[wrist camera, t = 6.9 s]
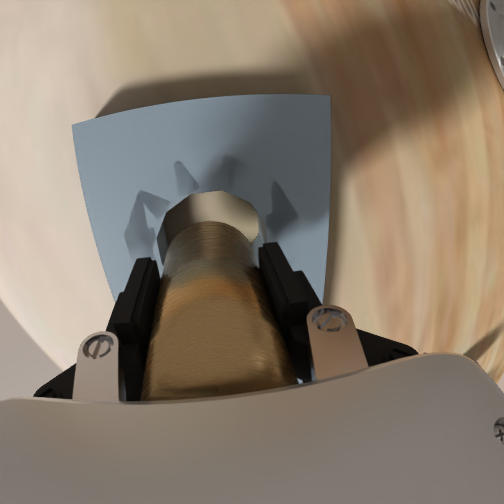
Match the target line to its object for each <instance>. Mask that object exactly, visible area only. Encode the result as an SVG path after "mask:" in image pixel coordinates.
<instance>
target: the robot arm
mask: <svg viewBox="0 0 504 504" xmlns="http://www.w3.org/2000/svg"><path fill="white" fill-rule="evenodd" d="M480 22H481V27H482V33H483V37H484V41H485V45H486V48H487V51H488V54H489V58H490V60H491V63H492V66H493V68H494V71H495V73H496V76H497V78H498V80H499V82H500V84H501V86H502V88H503V90H504V0H481V1H480ZM258 257H259V269H260V272H261V275H262V278H263V281H264V284H265V287H266V290H267V293H268V295H269V298H270V301H271V304H272V307H273V310H274V313H275V316H276V319H277V322H278V324H279V327H280V330H281V333H282V336H283V339H284V342H285V345H286V347H287V350H288V353H289V356H290V359H291V362H292V365H293V368H294V371H295V374H296V376H297V378H298V379H300V380H301V384H296V385H291V386H285V387H280V388H274V389H268V390H262V391H255V392H249V393H242V394H234V395H226V396H217V397H207V398H196V399H182V400H163V401H141V395H142V387H143V379H144V372H145V365H146V358H147V351H148V345H149V339H150V333H151V327H152V322H153V316H154V311H155V306H156V301H157V296H158V291H159V286H160V281H161V277H160V273H159V269H158V265H157V262H156V260H152V259H151V257H145V258H137V259H136V261H135V264H134V266H133V269H132V271H131V274H130V276H129V279H128V282H127V284H126V287H125V290H124V292H120V293H119V295H118V298H117V301H116V303H115V306H114V309H113V311H112V314H111V317H110V320H109V323H108V326H107V328H106V331H101V332H97V333H93V334H91V335H90V336H88V337H87V338H86V339H84V340H83V342H82V343H81V344H80V347H79V350H78V357H77V363H76V364H74V365H73V366H71V367H70V368H68V369H67V370H65V371H64V372H62V373H61V374H59V375H58V376H56V377H55V378H53V379H52V380H50V381H49V382H48V383H46V384H45V385H43V386H42V387H40V388H39V389H38V390H37V391H36V393H35V394H34V396H33V397H17V398H9V399H5V400H2V401H0V504H504V393H503V392H502V391H501V389H500V388H499V387H498V385H497V384H496V383H495V382H494V381H493V379H492V378H491V377H490V376H489V375H488V374H487V373H486V372H485V371H484V370H483V369H482V368H481V366H480V365H479V364H478V362H476V361H474V360H473V359H470V358H468V357H467V356H464V355H461V354H456V353H448V352H445V353H423V354H418V352H417V351H416V350H415V349H413V348H412V347H410V346H408V345H405V344H402V343H399V342H396V341H393V340H390V339H387V338H384V337H380V336H377V335H374V334H371V333H368V332H365V331H362V330H359V329H356V328H355V325H354V322H353V319H352V317H351V315H350V314H349V313H348V312H347V311H346V310H345V309H343V308H341V307H338V306H333V305H322V303H321V302H320V300H319V298H318V296H317V295H316V293H315V291H314V289H313V288H312V286H311V284H310V283H309V281H308V279H307V277H306V276H305V274H304V272H303V271H302V270H299V271H293V270H292V268H291V266H290V264H289V262H288V260H287V259H286V257H285V255H284V253H283V251H282V249H281V247H280V246H279V244H278V242H269V243H263V247H258Z"/></svg>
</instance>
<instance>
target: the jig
mask: <svg viewBox="0 0 504 504" xmlns="http://www.w3.org/2000/svg"><path fill="white" fill-rule="evenodd" d="M72 131H73V139H74V146H75V152H76V158H77V164H78V170H79V175H80V180H81V185H82V190H83V195H84V199H85V204H86V208H87V212H88V216H89V220H90V224H91V228H92V232H93V235H94V239H95V242H96V246H97V249H98V253H99V256H100V259H101V262H102V266H103V269H104V272H105V275H106V278H107V281H108V284H109V286H110V289H111V292H112V295H113V298H114V300H115V303H116V301H117V298H118V295H119V293H120V292H124V290H125V287H126V284H127V282H128V279H129V276H130V274H131V271H132V269H133V266H134V264H135V261H136V259H137V258H145V257H151V259H152V260H156V262H157V265H158V269H159V273H160V277H161V276H162V272H163V267H164V263H165V259H166V254H167V251H168V248H169V244H168V243H167V239H166V234H165V228H164V223H163V219H164V217H165V214H166V212H167V211H169V210H170V209H171V208H173V207H174V206H175V205H177V204H178V203H179V202H180V201H182V200H183V199H185V198H186V197H187V196H189V195H190V194H196V193H204V192H212V191H221V190H222V191H224V192H227V193H229V194H231V195H234V196H236V197H238V198H241V199H243V200H245V201H248V202H250V203H251V205H252V206H253V208H254V209H255V210H256V212H257V213H258V223H259V233H258V235H257V237H256V239H255V241H254V243H253V244H252V246H251V247H252V249H253V252H254V255H255V258H256V261H257V264H258V267H259V257H258V247H263V243H269V242H278V244H279V246H280V247H281V249H282V251H283V253H284V255H285V257H286V259H287V260H288V262H289V264H290V266H291V268H292V270H293V271H299V270H302V271H303V272H304V274H305V276H306V277H307V279H308V281H309V283H310V284H311V286H312V288H313V289H314V291H315V293H316V295H317V296H318V298H319V300H320V302H321V303H323V294H324V284H325V272H326V260H327V247H328V231H329V213H330V186H331V103H330V95H314V94H255V95H235V96H222V97H211V98H201V99H193V100H185V101H178V102H171V103H164V104H158V105H153V106H147V107H142V108H137V109H132V110H127V111H123V112H118V113H114V114H110V115H106V116H102V117H98V118H94V119H90V120H87V121H83V122H80V123H77V124H73V125H72ZM297 379H298V378H297ZM298 382H299V384H301V380H300V379H298Z"/></svg>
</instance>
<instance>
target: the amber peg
mask: <svg viewBox="0 0 504 504" xmlns="http://www.w3.org/2000/svg"><path fill="white" fill-rule="evenodd" d="M296 384H299V382H298V379H297V376H296V374H295V371H294V368H293V365H292V362H291V359H290V356H289V353H288V350H287V347H286V345H285V342H284V339H283V336H282V333H281V330H280V327H279V324H278V322H277V319H276V316H275V313H274V310H273V307H272V304H271V301H270V298H269V295H268V293H267V290H266V287H265V284H264V281H263V278H262V275H261V272H260V269H259V267H258V264H257V261H256V258H255V255H254V252H253V249H252V247H251V244H250V242H249V241H248V239H247V238H246V237H245V236H244V235H243V234H242V233H241V232H240V231H239V230H237V229H236V228H234V227H232V226H230V225H228V224H225V223H221V222H215V221H206V222H199V223H196V224H193V225H191V226H188V227H186V228H185V229H183V230H182V231H181V232H179V233H178V234H177V235H176V236H175V238H174V239H173V240H172V242H171V243H170V245H169V248H168V251H167V254H166V259H165V263H164V267H163V272H162V276H161V281H160V286H159V291H158V296H157V301H156V306H155V311H154V316H153V322H152V327H151V333H150V339H149V345H148V351H147V358H146V365H145V372H144V379H143V387H142V395H141V401H163V400H182V399H196V398H207V397H217V396H226V395H234V394H242V393H249V392H255V391H262V390H268V389H274V388H280V387H285V386H291V385H296Z"/></svg>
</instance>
